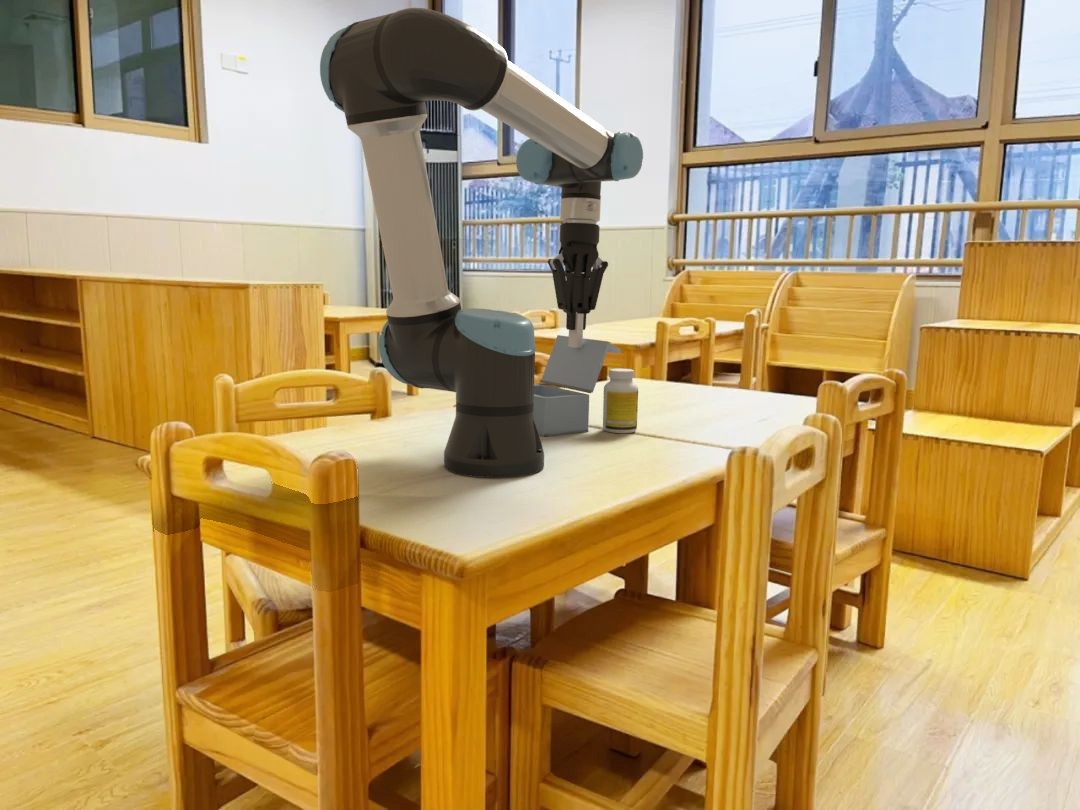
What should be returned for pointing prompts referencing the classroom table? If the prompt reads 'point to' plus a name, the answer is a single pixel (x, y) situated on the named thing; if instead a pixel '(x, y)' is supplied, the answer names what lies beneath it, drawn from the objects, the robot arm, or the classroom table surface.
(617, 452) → the classroom table surface
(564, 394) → the box
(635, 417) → the pill bottle
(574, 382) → the lid
